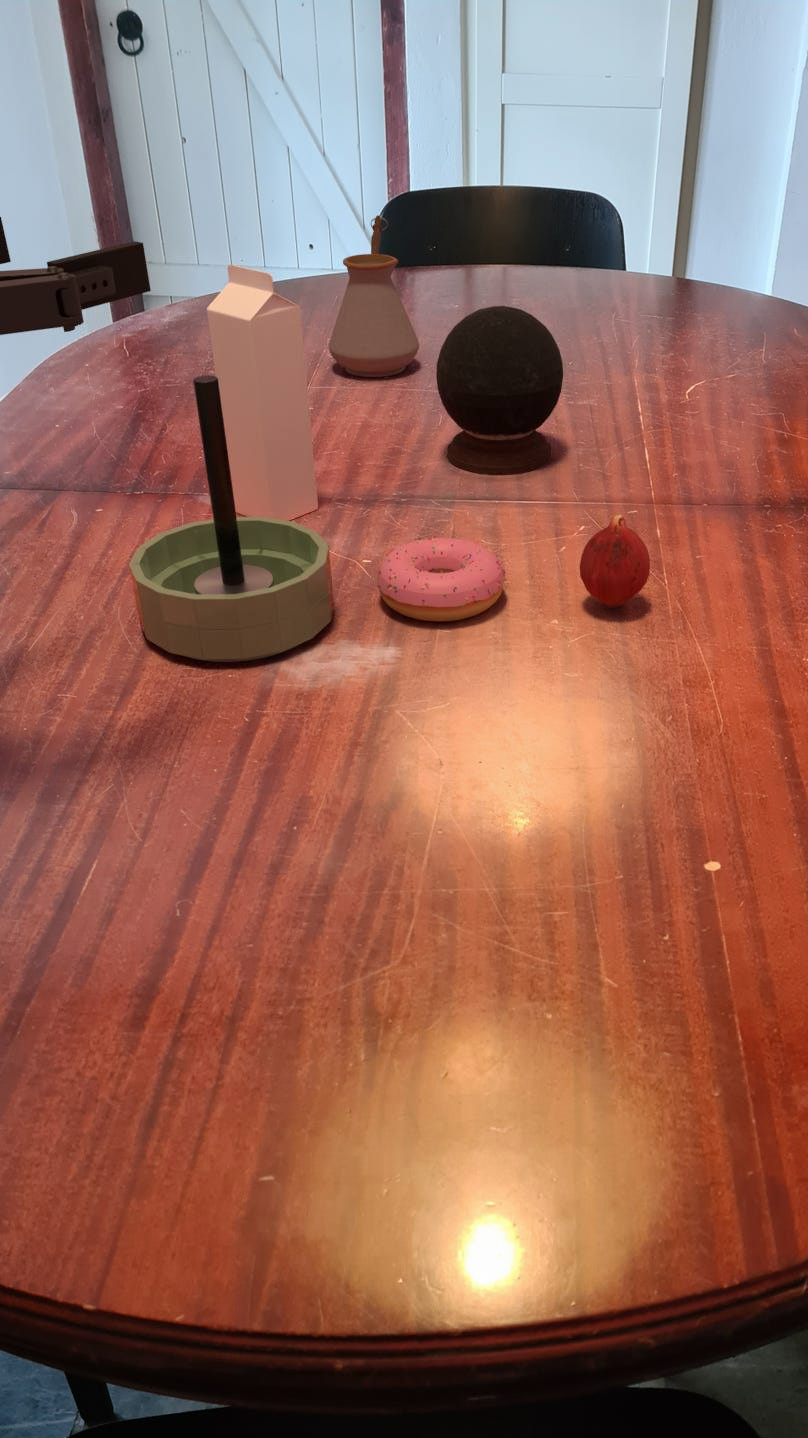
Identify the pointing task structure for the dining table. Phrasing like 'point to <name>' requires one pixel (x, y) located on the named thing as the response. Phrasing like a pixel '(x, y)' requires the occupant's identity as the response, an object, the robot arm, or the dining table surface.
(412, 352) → the coffee pot
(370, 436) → the dining table surface
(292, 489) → the milk
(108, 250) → the robot arm
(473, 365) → the black ball on stand
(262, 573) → the paper towel holder
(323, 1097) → the dining table surface
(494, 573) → the doughnut
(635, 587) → the onion
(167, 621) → the bowl
